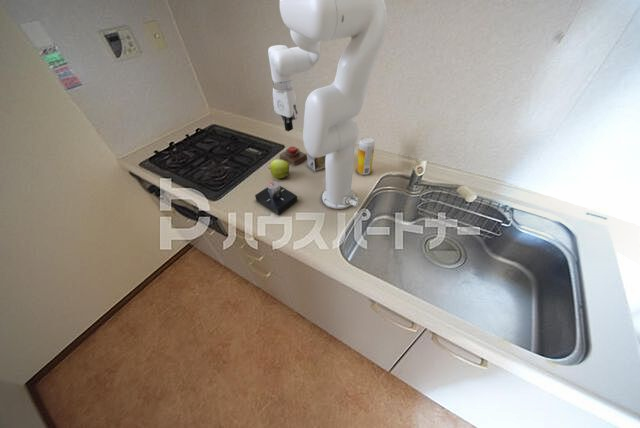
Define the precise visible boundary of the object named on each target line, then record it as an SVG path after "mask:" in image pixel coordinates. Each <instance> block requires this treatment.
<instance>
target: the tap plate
mask: <svg viewBox="0 0 640 428" xmlns="http://www.w3.org/2000/svg"><path fill="white" fill-rule="evenodd" d="M280 190H281V197H280V198H277V199H272V198H271V197H270V194H269V190H268V187H267V186H266V187H265V188H264V189H262V190H260V191H259V192H258V193H256V194H254V197H255V201H256V202H257V203H259V204H260V205H261V206H264V207H265V208H266V209H268V210H269V211H270V212H273V213H274V214H275V215H277V216H281V214H283V213H284V212H285V211H287V210H289V209H290V208H291V207H292V206H293V205H295V204H296V203H297V202H298V195H297V194H296V193H293V191H290V190H288V189H286V188H284V187H283V186H281V185H280Z"/></svg>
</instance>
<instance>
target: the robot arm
mask: <svg viewBox="0 0 640 428" xmlns="http://www.w3.org/2000/svg"><path fill="white" fill-rule="evenodd" d="M279 13H280V16H281V19H282V22H283V23H284V25H285V26H286V27H287V28H288V29H289V31H290V32H289V33H290V37H291V40H292V42H293V43H294V45H296V46H294V47H290V48H289V47H288V46H287V45H285V44H275V45H271V46H269V47H268V50H267V55H268V62H269V67H270V72H271V79H272V85H273V87H272V102H273V110H274V112H275V114H277V115H279V116H280V117H281V118H282V121H283V124H284V131H285V132H290V131H292V130H294V126H293V121H294V120H295V121H296V120H297V119H298V113H299V109H298V107H299V106H298V101H297V96H296V91H295V88H294V82H293V75H295V74H300V73H305V72H308V71H310V70H311V69H313V68H314V67H315V65H316V64H317V63H318V62H319V60H320V58H321V51H322V47H321V46H322V45H321V43H322V42H329V41H333V40H340V39H345V38H350V41H349V42H348V44H347V46H345V48H344V50H343V51H342V53H341V55H340V57H339V59H338V63H337V65H336V73H335V77H334V80H333V81H332V83H331V84H329V85H325V86H322V87H319V88H318V87H317V88H316V89H314V90H312V91H311V92H310V93H309V94H308V96H306V97H307V98H306V100H305V104H304V115H303V127H302V128H303V129H302V130H303V131H302V141H303V142H302V143H303V147H304V150H305V151H306V154H307V153H308V154H309V155H310V156H312V157H315V158H318V157H322V156H325V155H326V158H325V168H324V169H325V171H324V172H325V190H324V191H323V193H322V196H321V197H322V198H321V199H322V202H323V204H324V205H325V206H326V207H328V208H330V209H335V210H343V209H346V208H347V209H348V208H349V207H351V206H353V207H355V208H357V207H358V205H359V201H360V197H358V196H356V195H355V192H354V191H355V190H354V189H352V185H353V169H354V168H353V167H354V156H355V150H356V146H357V143H358V138H359V126H358V123H357V121H356V120H355V119H354V118H355V117H357V116H358V115H359V114H360V112H361V110H362V107H363V104H364V101H365V97H366V94H367V92H368V87H369V85H370V81H371V77H372V74H373V70H374V68H375V65H376V62H377V60H378V57H379V55H380V53H381V51H382V47H383V45H384V42H385V38H386V34H387V29H388V10H387V5H386V2H385V0H279Z"/></svg>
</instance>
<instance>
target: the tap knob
mask: <svg viewBox="0 0 640 428" xmlns="http://www.w3.org/2000/svg"><path fill="white" fill-rule="evenodd" d="M280 186H281V185H280V183H279V182H278V181H276V180H273V181H269V182H268V183H267V185H266V188H267V187H268V190H269V194H270V197H271V198H272V199H277V198H280V197H281V190H280Z"/></svg>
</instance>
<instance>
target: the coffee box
mask: <svg viewBox="0 0 640 428" xmlns="http://www.w3.org/2000/svg"><path fill="white" fill-rule="evenodd" d="M306 157H307V158H306V159H307V166H308V167H309V168H310V169H311V170H313V172H314V173H315V172H318V171H320V170H322V169H325V158H326V155H325V156H322V157H318V158H315V157H312V156H310V155H309V154H308V153H307V152H306Z"/></svg>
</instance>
